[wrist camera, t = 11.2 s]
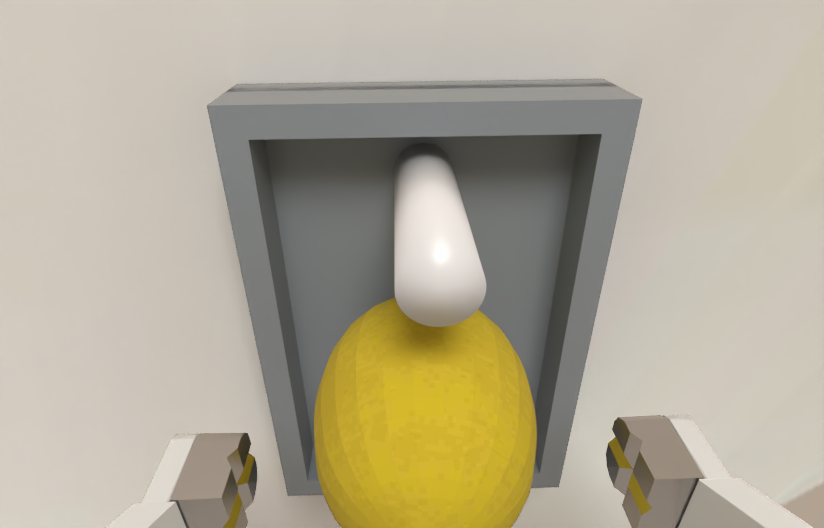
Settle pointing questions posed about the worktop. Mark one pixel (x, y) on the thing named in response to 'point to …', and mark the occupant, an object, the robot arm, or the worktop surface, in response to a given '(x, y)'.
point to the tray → (352, 225)
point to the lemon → (424, 425)
